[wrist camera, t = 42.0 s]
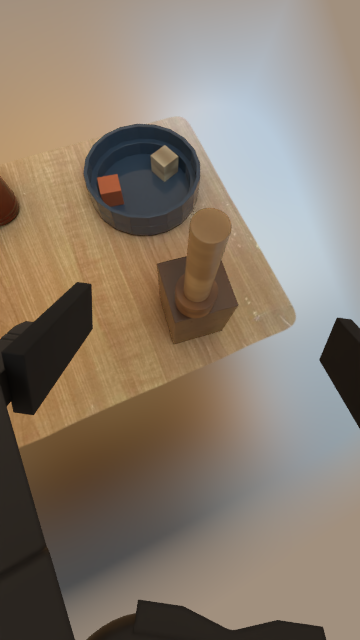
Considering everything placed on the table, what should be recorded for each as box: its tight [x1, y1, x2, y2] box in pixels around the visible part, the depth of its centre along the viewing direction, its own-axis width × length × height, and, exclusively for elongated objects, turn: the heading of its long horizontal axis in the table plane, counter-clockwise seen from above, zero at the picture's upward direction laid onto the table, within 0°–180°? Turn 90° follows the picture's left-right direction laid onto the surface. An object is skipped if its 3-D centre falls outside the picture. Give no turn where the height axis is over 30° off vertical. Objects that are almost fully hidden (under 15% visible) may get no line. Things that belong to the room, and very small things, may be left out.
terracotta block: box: [97, 174, 124, 207], centre depth 51 cm, size 4×4×4 cm
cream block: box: [151, 145, 178, 182], centre depth 53 cm, size 4×4×4 cm
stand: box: [157, 256, 238, 344], centre depth 42 cm, size 8×8×12 cm
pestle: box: [175, 208, 231, 318], centre depth 28 cm, size 5×5×15 cm
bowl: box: [84, 124, 200, 235], centre depth 52 cm, size 19×19×6 cm
